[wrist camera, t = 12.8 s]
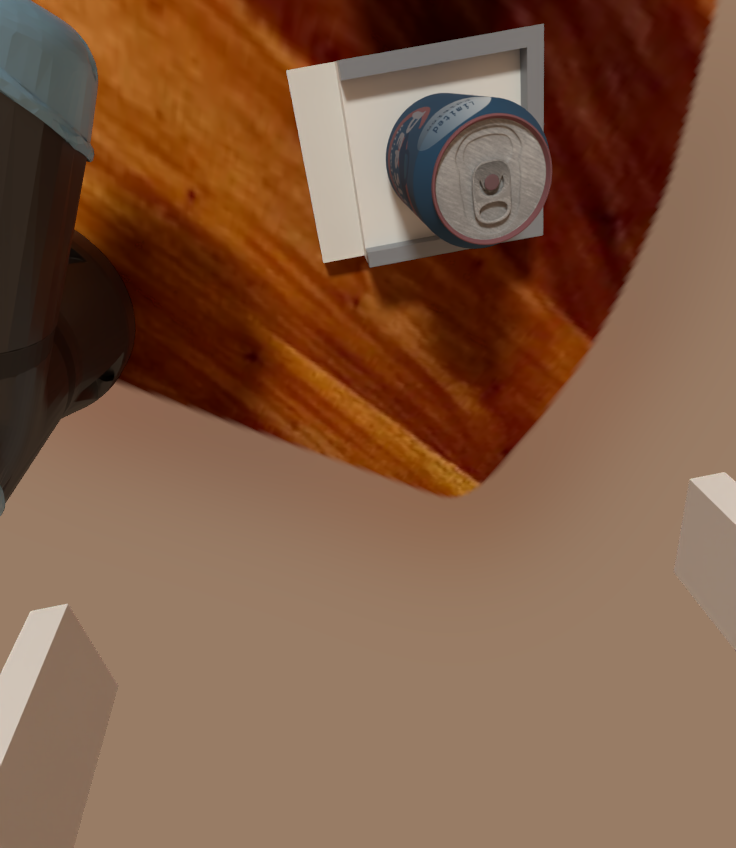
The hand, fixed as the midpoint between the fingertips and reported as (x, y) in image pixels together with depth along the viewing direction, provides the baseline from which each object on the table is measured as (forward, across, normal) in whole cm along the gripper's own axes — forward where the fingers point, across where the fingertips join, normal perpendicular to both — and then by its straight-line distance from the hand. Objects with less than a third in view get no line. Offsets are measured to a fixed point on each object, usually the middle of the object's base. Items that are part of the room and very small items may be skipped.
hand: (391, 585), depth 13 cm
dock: (+35, +7, +4) cm, 36 cm away
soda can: (+31, +8, +4) cm, 33 cm away
